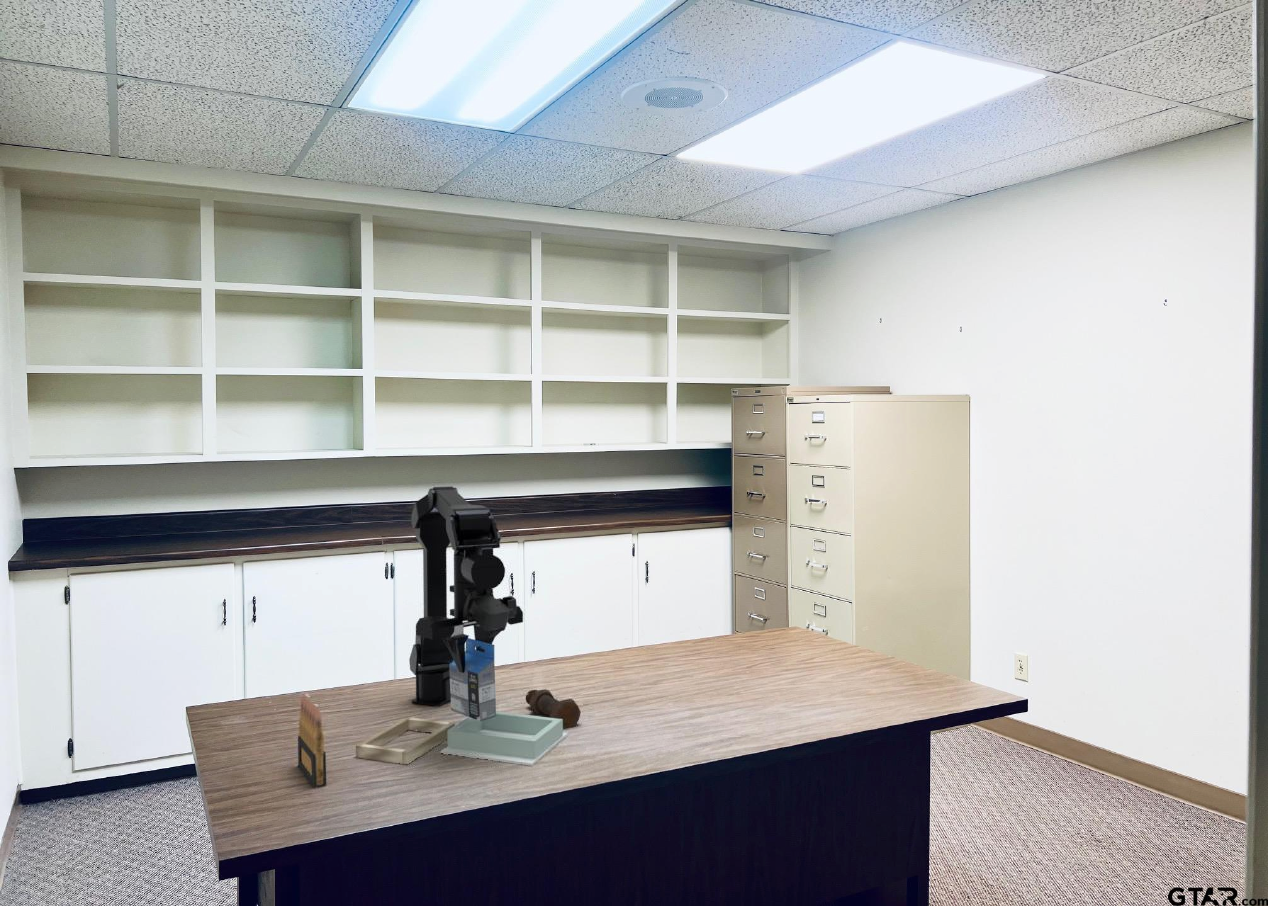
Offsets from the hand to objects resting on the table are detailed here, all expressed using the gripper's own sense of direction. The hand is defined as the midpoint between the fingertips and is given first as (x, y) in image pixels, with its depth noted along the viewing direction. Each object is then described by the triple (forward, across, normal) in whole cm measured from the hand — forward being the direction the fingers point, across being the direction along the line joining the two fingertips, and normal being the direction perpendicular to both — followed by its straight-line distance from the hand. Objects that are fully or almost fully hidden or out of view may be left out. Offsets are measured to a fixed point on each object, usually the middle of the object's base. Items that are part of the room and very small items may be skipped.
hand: (471, 670), depth 152 cm
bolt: (+14, +19, +2) cm, 23 cm away
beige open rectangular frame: (+13, -8, +8) cm, 17 cm away
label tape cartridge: (+8, 0, 0) cm, 8 cm away
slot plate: (+13, +4, -4) cm, 14 cm away
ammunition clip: (+13, -26, +7) cm, 30 cm away
